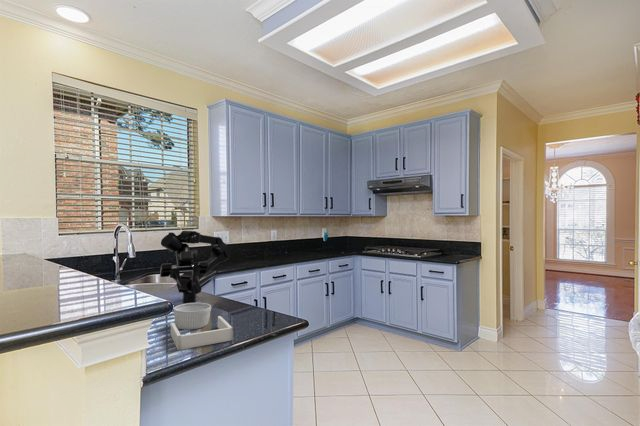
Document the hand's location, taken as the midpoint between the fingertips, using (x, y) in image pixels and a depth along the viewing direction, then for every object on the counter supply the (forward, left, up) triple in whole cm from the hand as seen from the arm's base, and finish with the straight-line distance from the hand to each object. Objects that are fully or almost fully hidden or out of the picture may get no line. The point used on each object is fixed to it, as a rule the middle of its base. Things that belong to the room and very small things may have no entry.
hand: (187, 285), depth 135 cm
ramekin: (+12, 0, -13) cm, 18 cm away
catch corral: (+27, 0, -13) cm, 30 cm away
